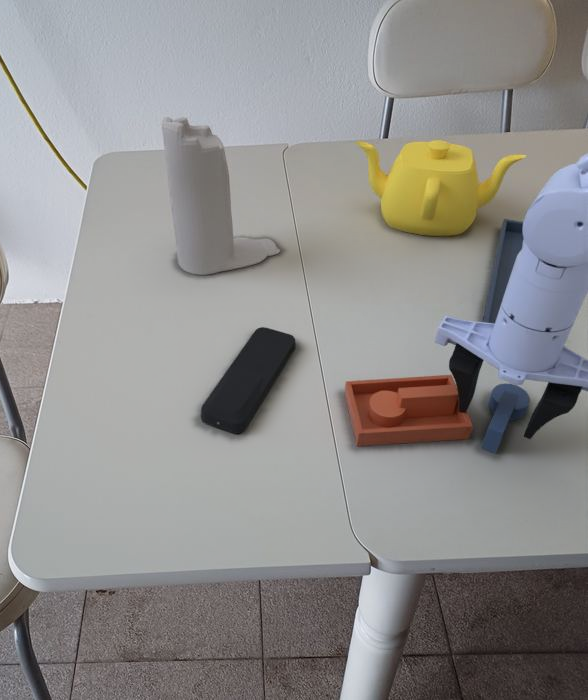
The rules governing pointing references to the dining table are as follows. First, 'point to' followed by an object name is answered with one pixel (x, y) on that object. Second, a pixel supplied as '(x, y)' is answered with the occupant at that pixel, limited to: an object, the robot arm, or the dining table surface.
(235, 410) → the remote control
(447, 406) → the terracotta spoon
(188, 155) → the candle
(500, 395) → the slate spoon
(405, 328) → the dining table surface
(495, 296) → the slate tray
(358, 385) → the terracotta tray
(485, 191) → the teapot
